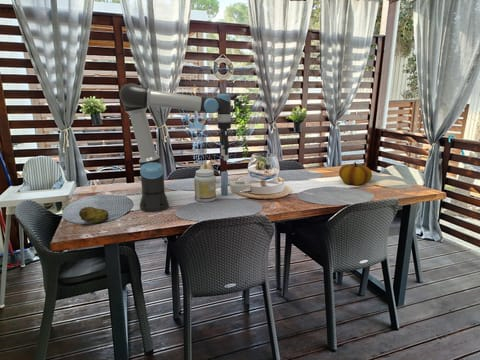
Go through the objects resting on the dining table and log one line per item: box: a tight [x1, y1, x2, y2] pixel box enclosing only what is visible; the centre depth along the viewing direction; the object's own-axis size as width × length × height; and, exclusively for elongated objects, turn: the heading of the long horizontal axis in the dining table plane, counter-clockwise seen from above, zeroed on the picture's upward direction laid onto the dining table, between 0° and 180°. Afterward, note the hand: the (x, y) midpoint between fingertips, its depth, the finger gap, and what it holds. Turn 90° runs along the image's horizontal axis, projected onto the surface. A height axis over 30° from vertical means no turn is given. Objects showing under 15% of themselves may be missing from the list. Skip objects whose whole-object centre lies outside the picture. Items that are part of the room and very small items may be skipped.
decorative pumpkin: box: [338, 161, 373, 186], centre depth 224 cm, size 20×22×15 cm
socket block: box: [229, 179, 252, 194], centre depth 208 cm, size 12×12×4 cm
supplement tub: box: [193, 168, 217, 203], centre depth 188 cm, size 12×12×17 cm
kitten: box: [198, 160, 215, 171], centre depth 221 cm, size 15×10×15 cm
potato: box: [78, 206, 109, 224], centre depth 155 cm, size 8×13×8 cm, turn 120°
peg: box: [220, 171, 229, 196], centre depth 196 cm, size 4×4×14 cm
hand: (224, 158), depth 192 cm, fingers open, 13 cm apart
